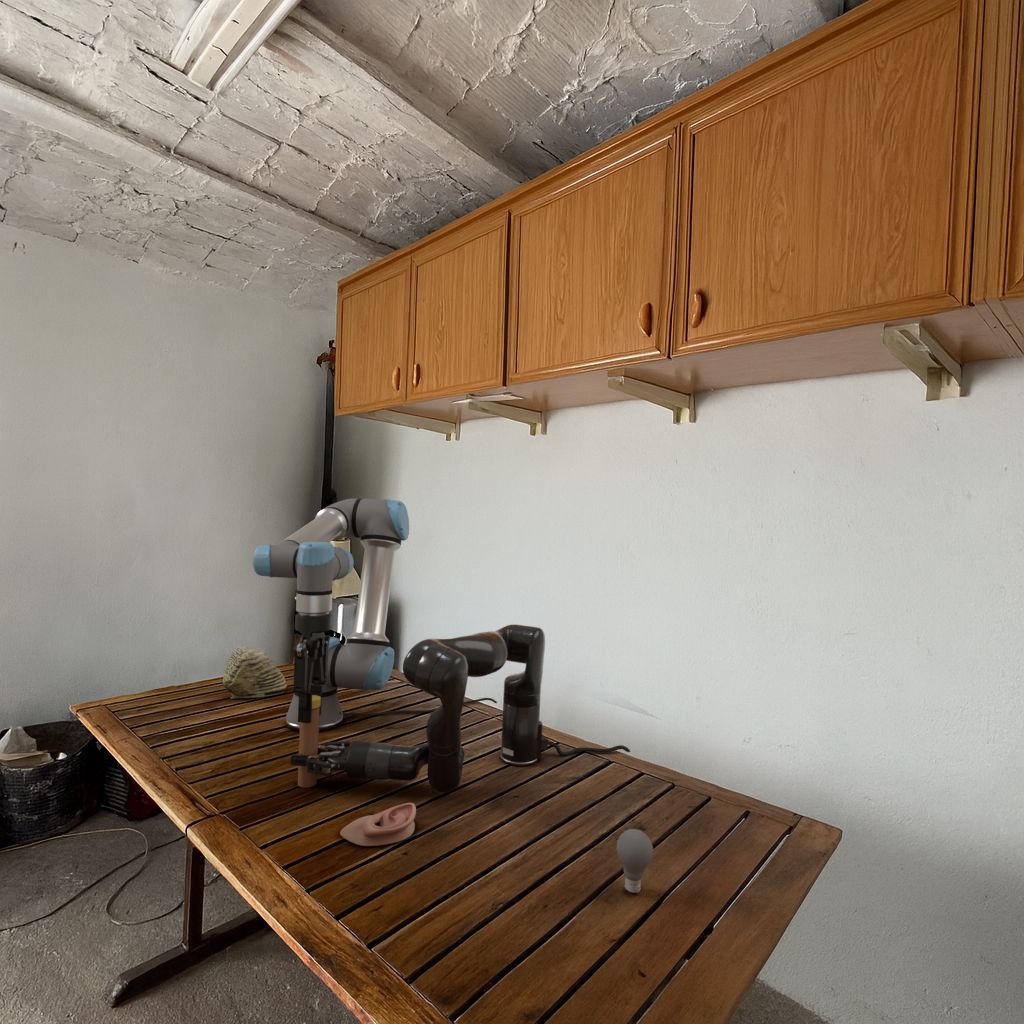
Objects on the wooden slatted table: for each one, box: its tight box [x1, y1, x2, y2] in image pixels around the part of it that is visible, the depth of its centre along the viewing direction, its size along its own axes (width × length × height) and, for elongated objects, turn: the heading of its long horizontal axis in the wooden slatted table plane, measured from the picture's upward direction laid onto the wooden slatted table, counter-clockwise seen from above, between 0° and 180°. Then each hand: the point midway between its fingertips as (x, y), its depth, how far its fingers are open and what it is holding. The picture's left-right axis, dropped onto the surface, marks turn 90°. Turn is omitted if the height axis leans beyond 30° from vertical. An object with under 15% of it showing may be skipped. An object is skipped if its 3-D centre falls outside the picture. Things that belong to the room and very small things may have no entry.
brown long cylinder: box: [297, 707, 320, 789], centre depth 139 cm, size 4×4×18 cm
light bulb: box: [615, 828, 654, 894], centre depth 106 cm, size 6×6×10 cm
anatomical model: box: [339, 802, 417, 847], centre depth 121 cm, size 13×4×12 cm
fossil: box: [222, 646, 288, 699], centre depth 198 cm, size 9×18×15 cm, turn 132°
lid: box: [312, 695, 321, 709], centre depth 139 cm, size 4×4×2 cm
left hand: (309, 718), depth 139 cm, fingers closed on lid, 4 cm apart
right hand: (296, 755), depth 140 cm, fingers closed on brown long cylinder, 4 cm apart
